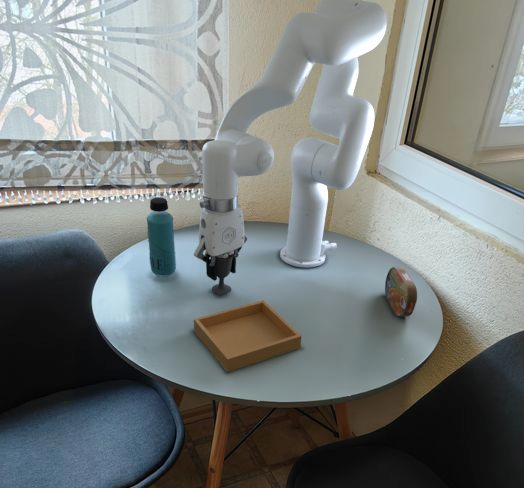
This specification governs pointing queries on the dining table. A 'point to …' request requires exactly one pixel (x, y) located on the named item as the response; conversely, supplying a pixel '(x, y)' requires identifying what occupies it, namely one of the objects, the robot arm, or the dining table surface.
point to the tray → (246, 335)
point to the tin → (400, 292)
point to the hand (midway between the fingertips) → (221, 273)
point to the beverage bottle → (161, 238)
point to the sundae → (223, 272)
